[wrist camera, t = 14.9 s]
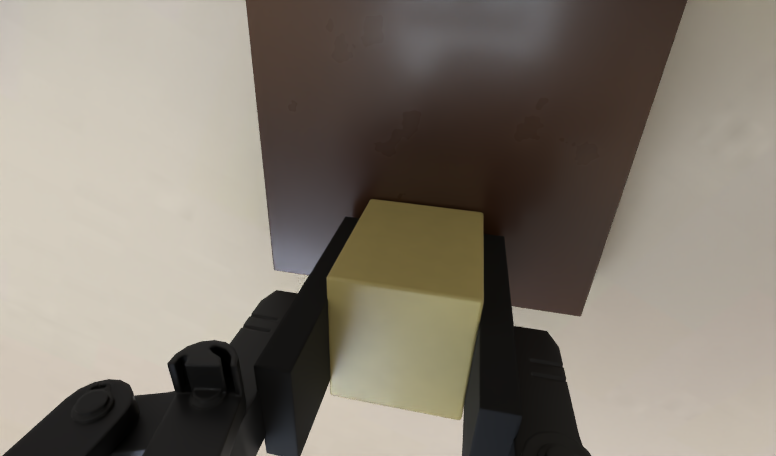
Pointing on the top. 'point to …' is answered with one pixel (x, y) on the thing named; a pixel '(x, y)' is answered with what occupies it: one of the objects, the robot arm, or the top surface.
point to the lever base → (459, 121)
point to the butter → (407, 307)
